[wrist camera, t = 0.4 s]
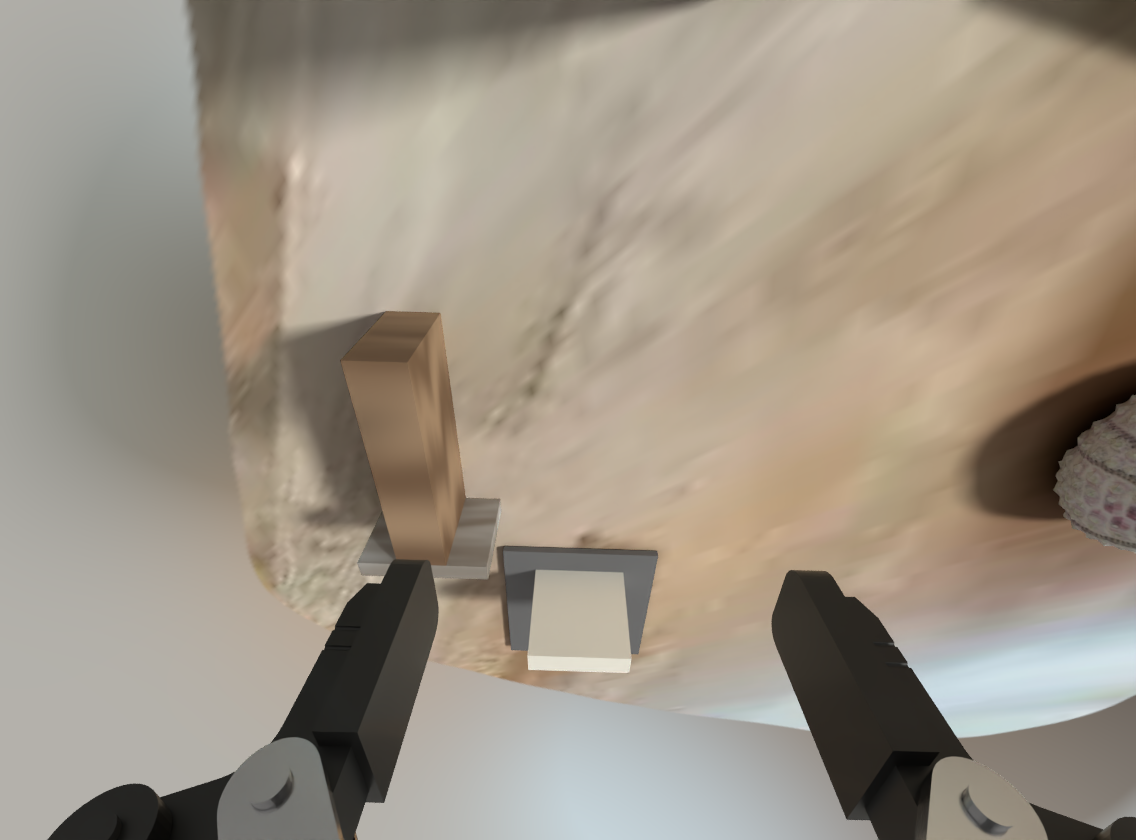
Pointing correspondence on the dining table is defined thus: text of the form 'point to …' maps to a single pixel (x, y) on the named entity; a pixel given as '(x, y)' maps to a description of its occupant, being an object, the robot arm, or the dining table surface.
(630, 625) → the mat
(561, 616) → the tile
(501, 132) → the dining table surface
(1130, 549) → the sea urchin shell
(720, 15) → the dining table surface
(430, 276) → the dining table surface
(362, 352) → the wooden post on base
